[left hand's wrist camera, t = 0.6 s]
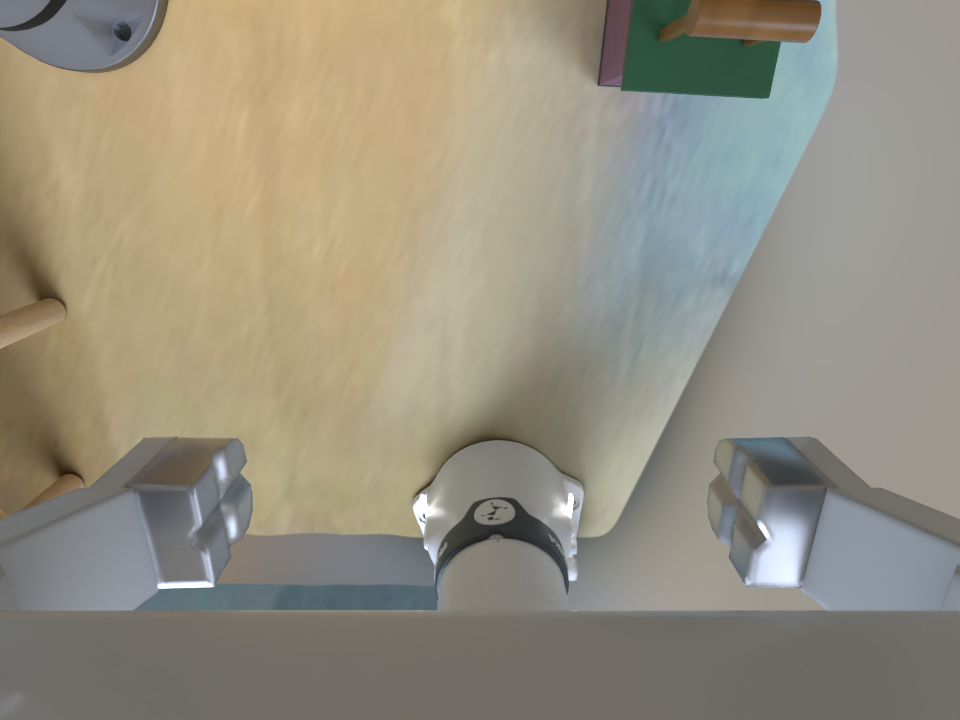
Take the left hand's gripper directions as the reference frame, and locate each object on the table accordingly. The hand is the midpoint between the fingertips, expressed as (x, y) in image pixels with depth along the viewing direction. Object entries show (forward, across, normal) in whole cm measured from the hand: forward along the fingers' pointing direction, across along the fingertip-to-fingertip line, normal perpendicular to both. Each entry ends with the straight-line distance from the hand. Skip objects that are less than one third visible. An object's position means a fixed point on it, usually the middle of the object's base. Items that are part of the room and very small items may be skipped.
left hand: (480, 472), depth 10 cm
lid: (+37, +15, +15) cm, 43 cm away
